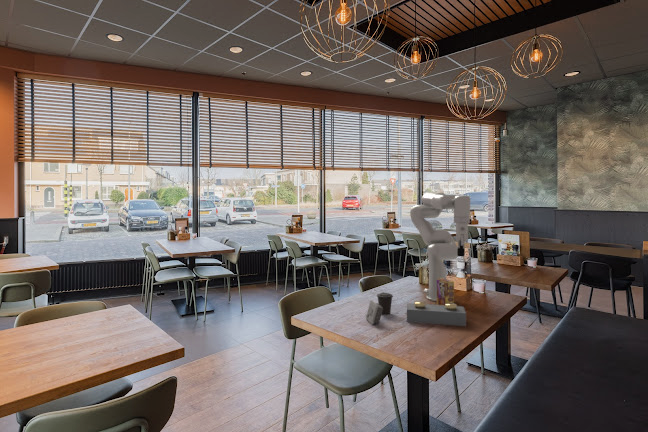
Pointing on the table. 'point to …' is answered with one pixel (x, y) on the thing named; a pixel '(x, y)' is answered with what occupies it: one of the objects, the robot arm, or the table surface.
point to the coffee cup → (385, 302)
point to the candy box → (445, 291)
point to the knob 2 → (451, 306)
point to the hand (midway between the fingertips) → (460, 256)
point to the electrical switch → (374, 313)
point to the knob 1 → (419, 304)
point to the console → (436, 315)
